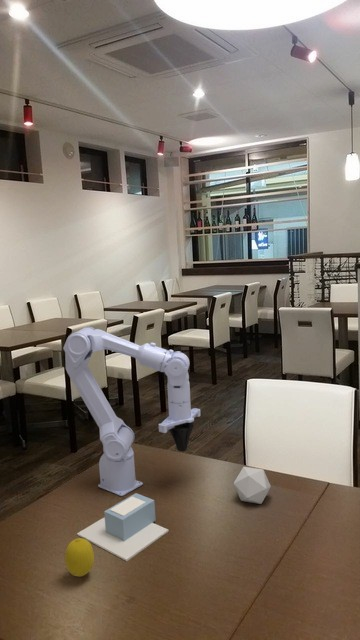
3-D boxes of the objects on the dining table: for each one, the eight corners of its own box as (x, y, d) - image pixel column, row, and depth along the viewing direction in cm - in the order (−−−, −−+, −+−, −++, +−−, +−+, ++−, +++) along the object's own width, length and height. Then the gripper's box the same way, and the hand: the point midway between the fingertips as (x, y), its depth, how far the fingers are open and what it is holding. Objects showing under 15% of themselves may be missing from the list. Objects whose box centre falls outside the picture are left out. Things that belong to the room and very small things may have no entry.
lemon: (100, 569, 98) (97, 532, 97) (86, 588, 93) (83, 549, 92) (76, 565, 100) (73, 528, 99) (61, 582, 95) (57, 544, 94)
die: (275, 497, 124) (257, 461, 127) (277, 496, 116) (258, 458, 119) (245, 511, 123) (229, 474, 127) (246, 511, 115) (228, 472, 119)
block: (137, 512, 118) (105, 532, 110) (135, 491, 117) (104, 510, 110) (155, 520, 114) (124, 541, 106) (154, 499, 113) (122, 518, 106)
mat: (77, 534, 110) (77, 533, 110) (119, 509, 120) (119, 508, 120) (126, 561, 100) (126, 559, 100) (168, 531, 110) (168, 529, 110)
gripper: (172, 410, 118) (175, 464, 120) (208, 395, 129) (210, 444, 131) (151, 405, 123) (154, 457, 125) (187, 391, 133) (190, 438, 135)
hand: (181, 450), depth 128 cm, fingers closed
